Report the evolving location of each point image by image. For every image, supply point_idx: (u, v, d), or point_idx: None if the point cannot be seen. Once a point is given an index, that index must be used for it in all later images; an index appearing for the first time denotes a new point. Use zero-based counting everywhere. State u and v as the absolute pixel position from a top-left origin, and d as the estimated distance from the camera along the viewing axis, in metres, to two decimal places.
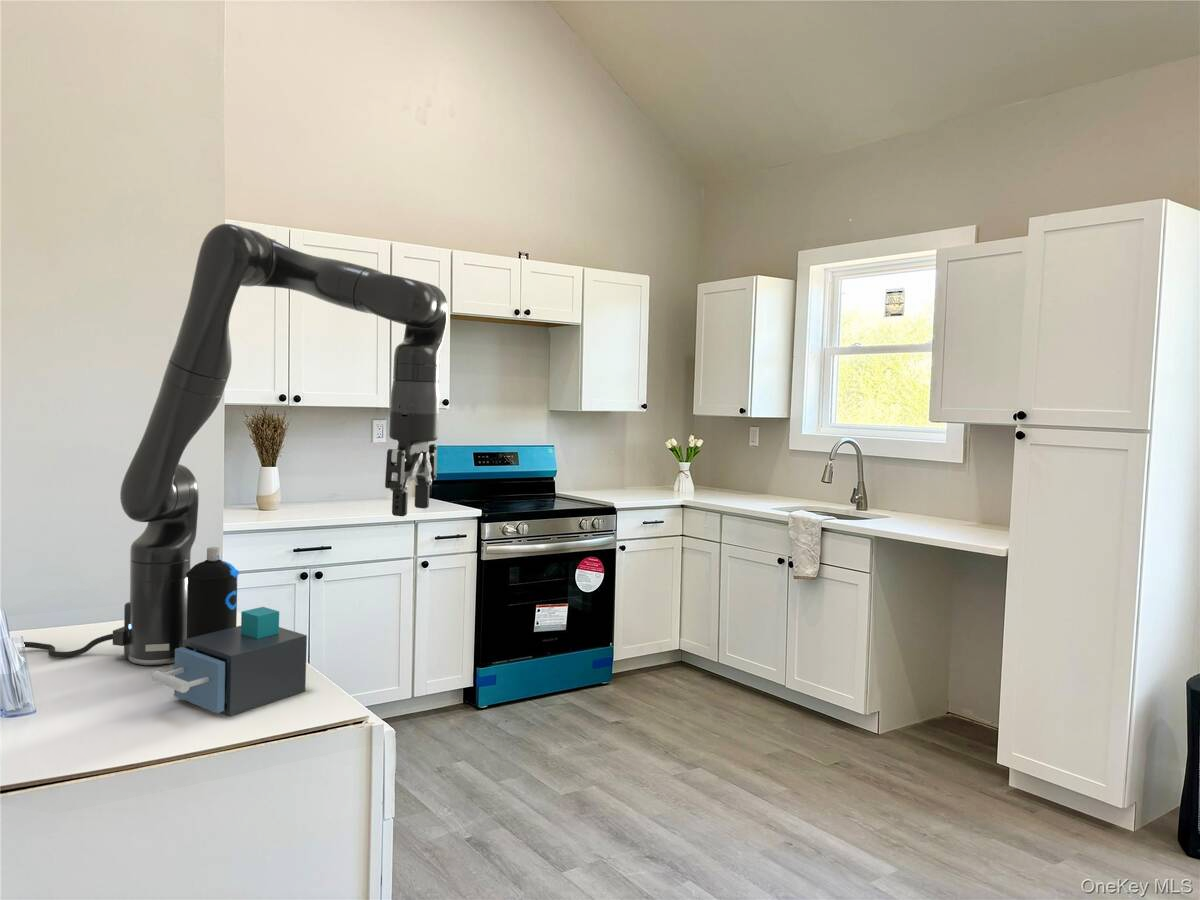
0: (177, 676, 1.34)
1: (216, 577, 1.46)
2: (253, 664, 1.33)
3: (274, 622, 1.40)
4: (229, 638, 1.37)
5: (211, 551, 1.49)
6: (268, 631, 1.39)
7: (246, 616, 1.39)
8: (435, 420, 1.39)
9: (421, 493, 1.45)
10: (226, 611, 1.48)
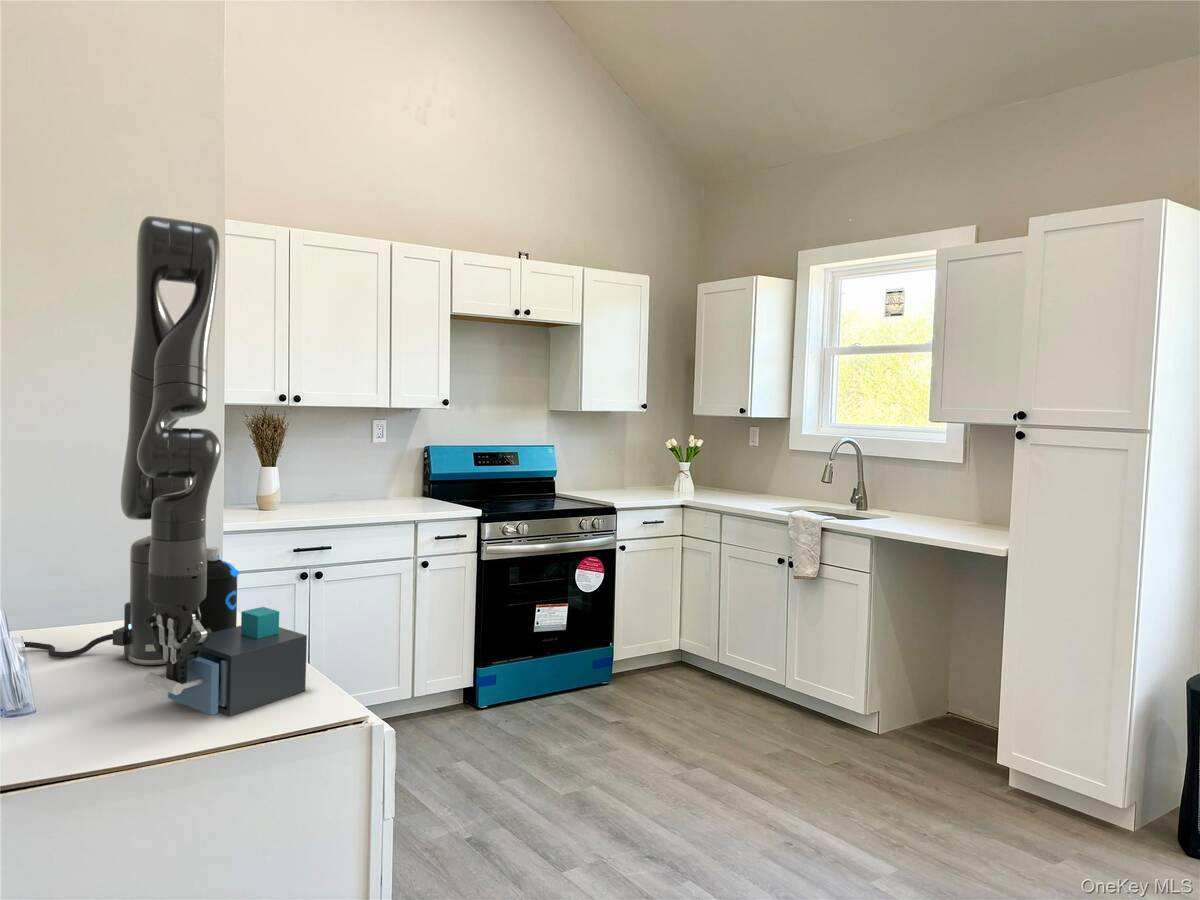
0: None
1: (216, 577, 1.46)
2: (253, 664, 1.33)
3: (274, 622, 1.40)
4: (229, 638, 1.37)
5: (211, 551, 1.49)
6: (268, 631, 1.39)
7: (246, 616, 1.39)
8: None
9: None
10: (226, 611, 1.48)
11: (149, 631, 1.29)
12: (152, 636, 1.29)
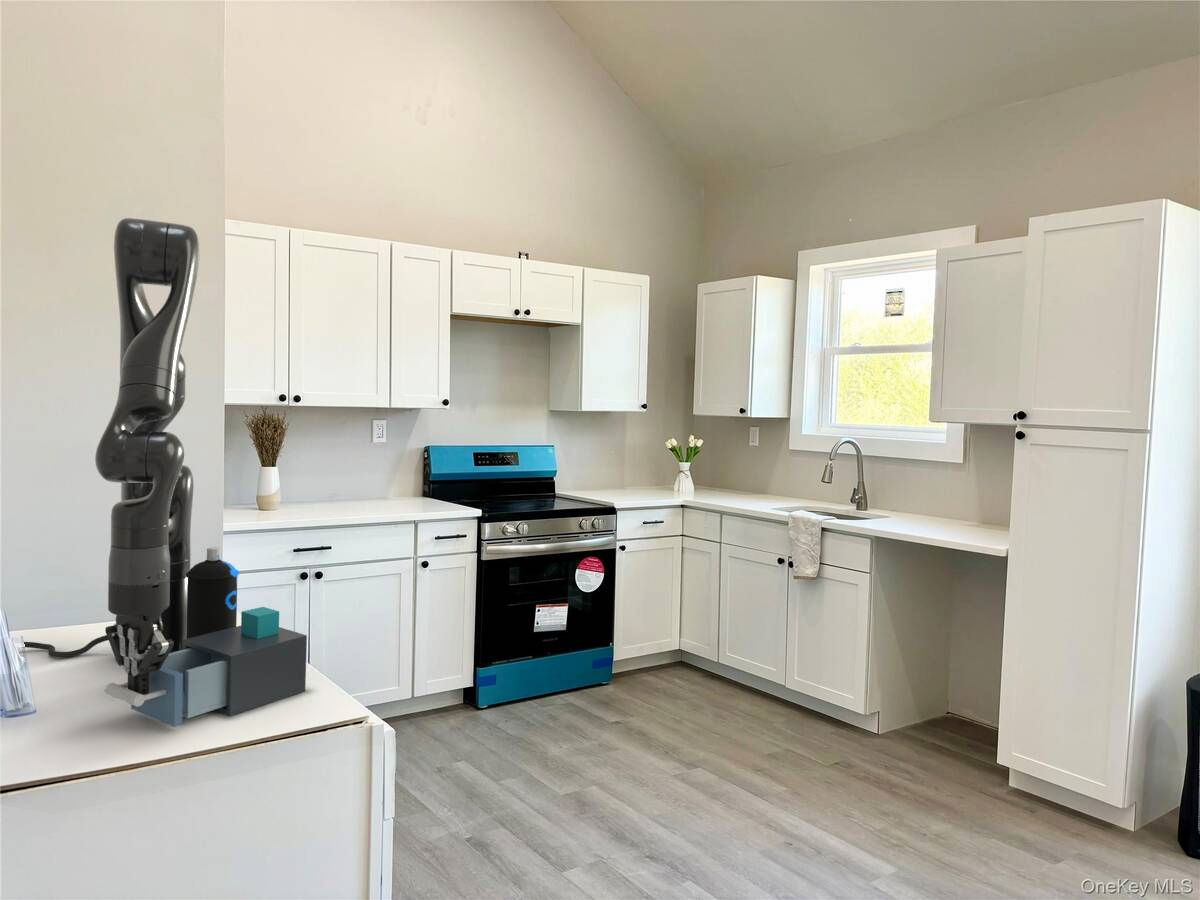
0: None
1: (216, 577, 1.46)
2: (253, 664, 1.33)
3: (274, 622, 1.40)
4: (229, 638, 1.37)
5: (211, 551, 1.49)
6: (268, 631, 1.39)
7: (246, 616, 1.39)
8: None
9: None
10: (226, 611, 1.48)
11: (111, 641, 1.25)
12: (113, 647, 1.24)
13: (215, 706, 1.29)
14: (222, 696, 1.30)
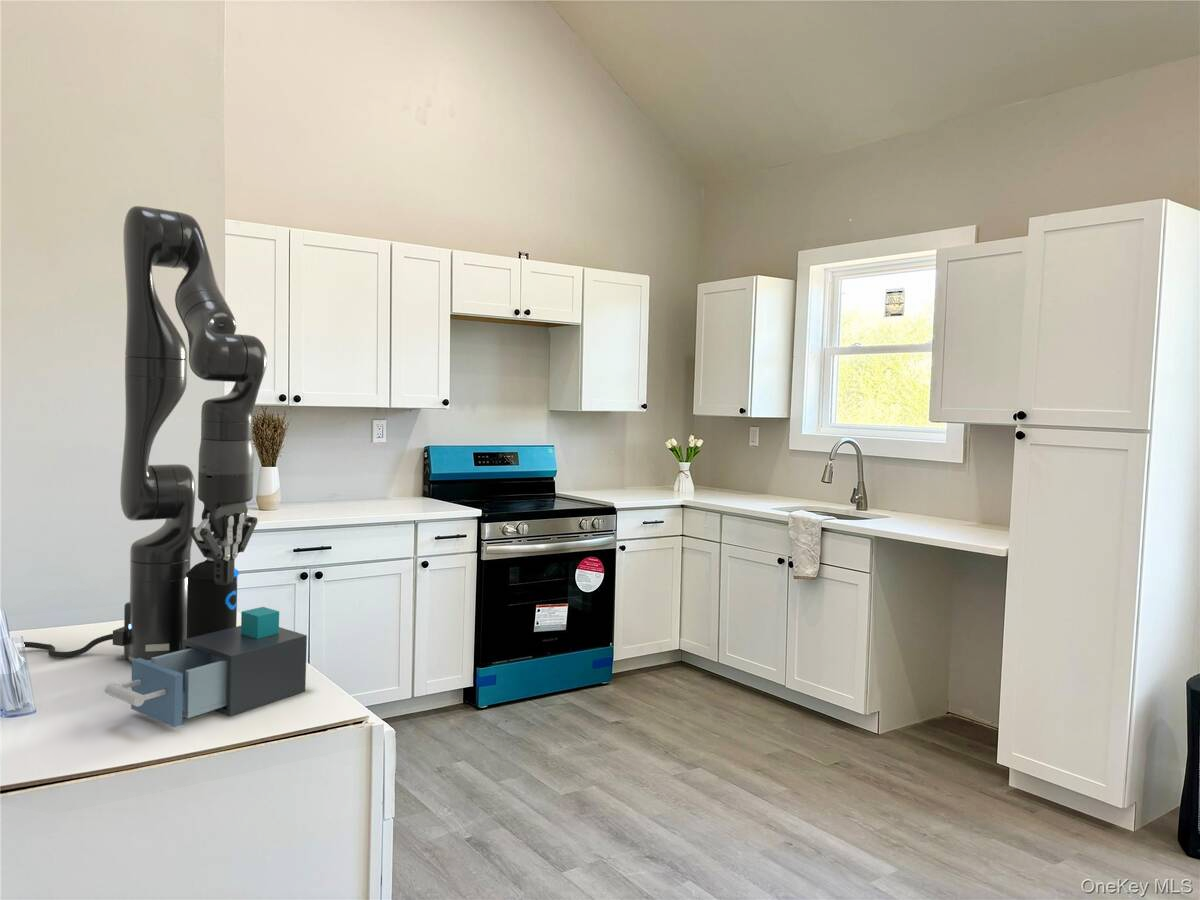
0: (134, 688, 1.28)
1: None
2: (253, 664, 1.33)
3: (274, 622, 1.40)
4: (229, 638, 1.37)
5: None
6: (268, 631, 1.39)
7: (246, 616, 1.39)
8: (246, 480, 1.31)
9: None
10: (226, 611, 1.48)
11: None
12: None
13: (215, 706, 1.29)
14: (222, 696, 1.30)
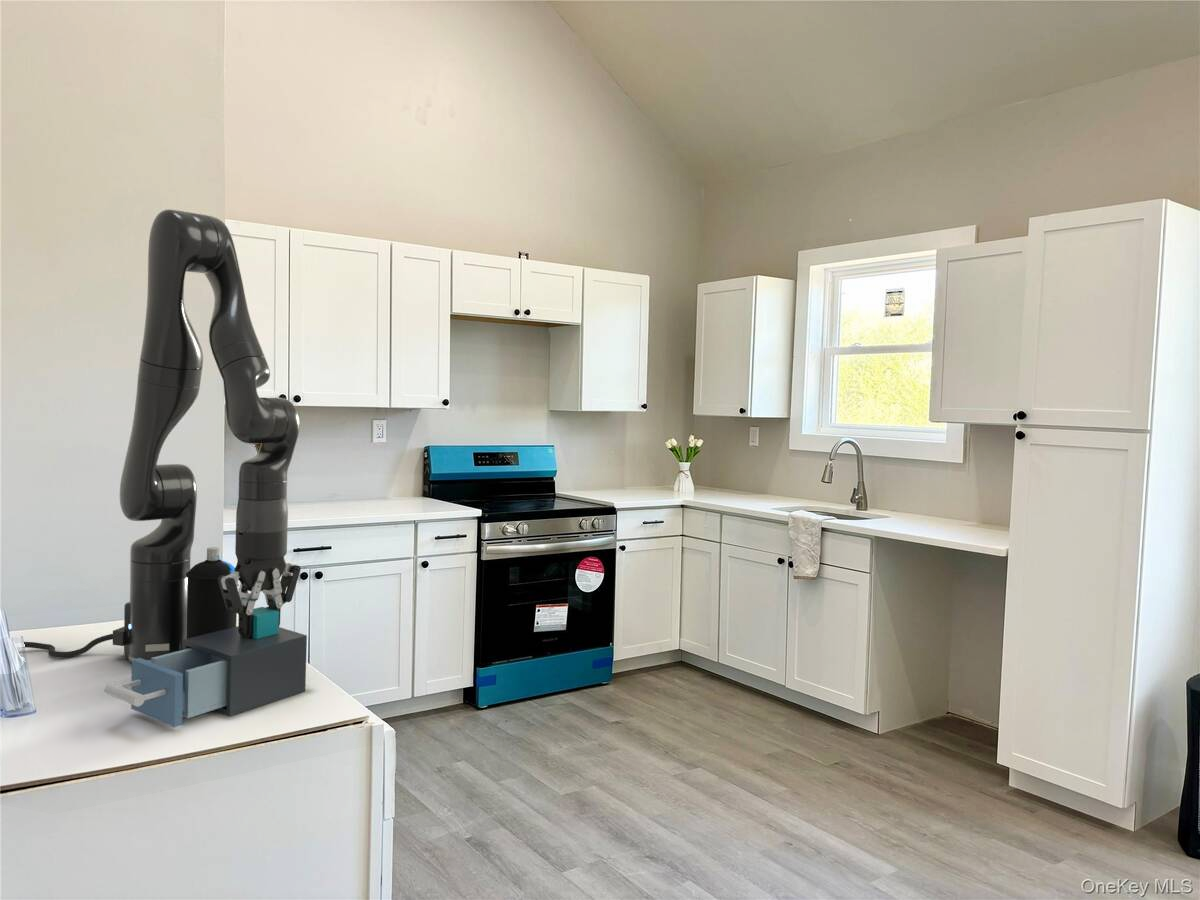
0: (134, 688, 1.28)
1: (216, 577, 1.46)
2: (253, 664, 1.33)
3: (273, 622, 1.40)
4: (229, 638, 1.37)
5: (211, 551, 1.49)
6: (267, 631, 1.39)
7: None
8: (275, 538, 1.36)
9: None
10: (226, 611, 1.48)
11: None
12: None
13: (215, 706, 1.29)
14: (222, 696, 1.30)
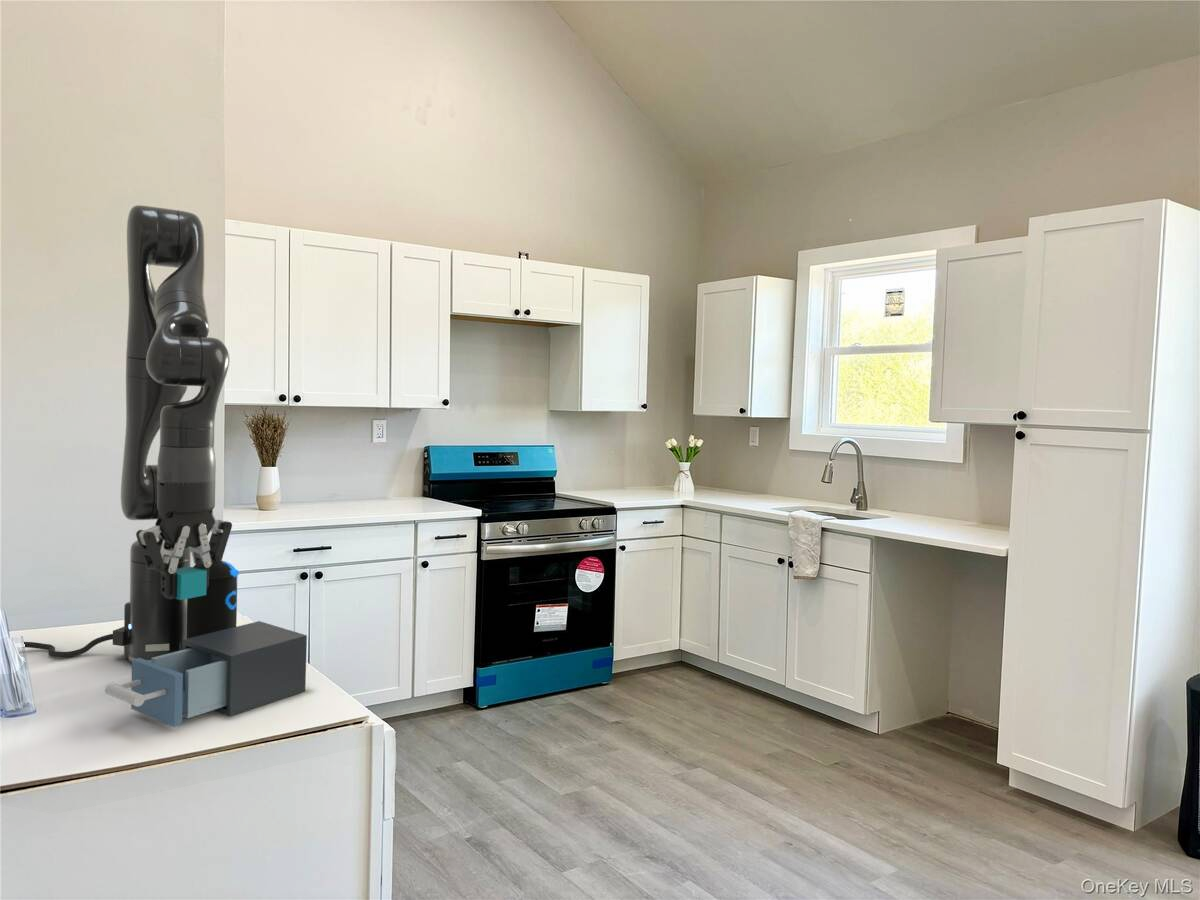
0: (134, 688, 1.28)
1: (216, 577, 1.46)
2: (253, 664, 1.33)
3: (200, 582, 1.28)
4: (229, 638, 1.37)
5: None
6: (193, 592, 1.27)
7: None
8: (200, 489, 1.25)
9: None
10: (226, 611, 1.48)
11: None
12: None
13: (215, 706, 1.29)
14: (222, 696, 1.30)
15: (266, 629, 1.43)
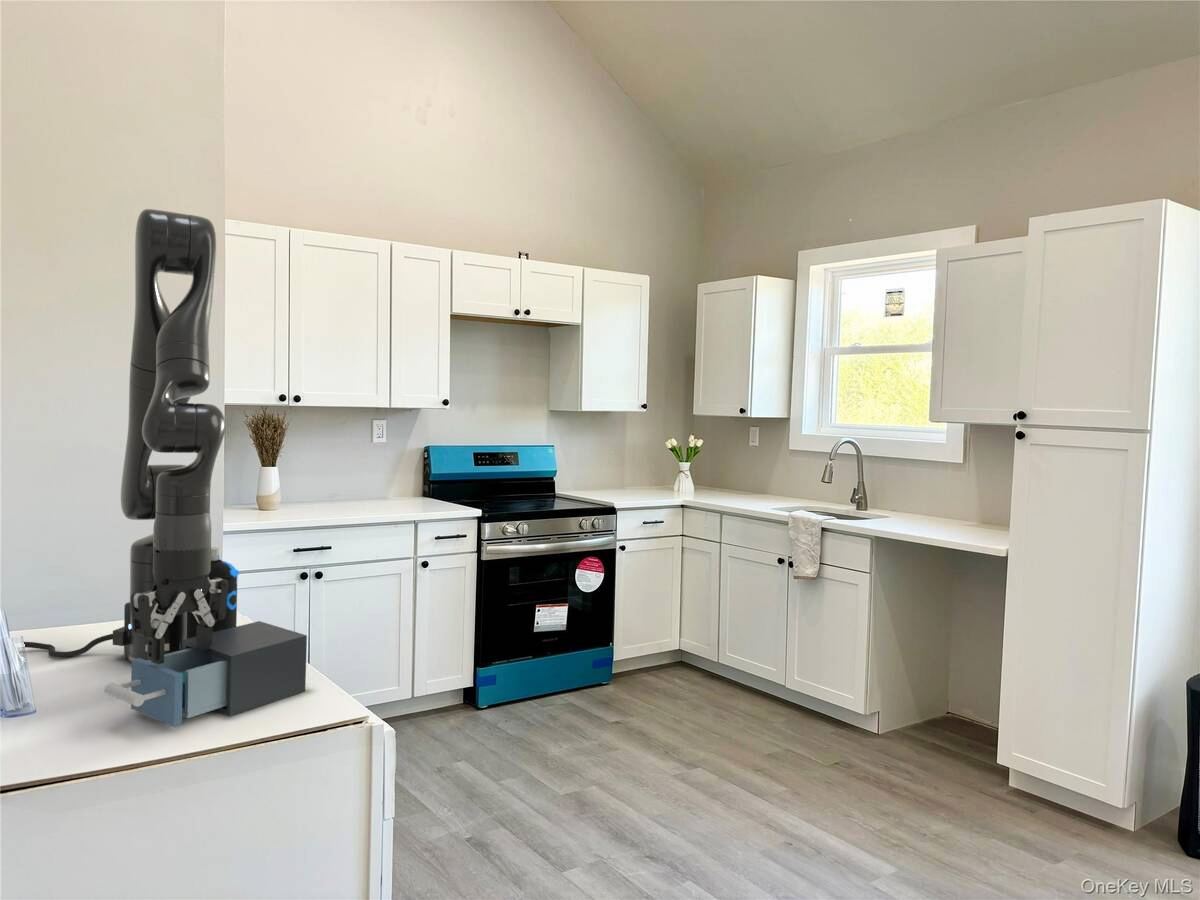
0: (134, 688, 1.28)
1: None
2: (253, 664, 1.33)
3: None
4: (229, 638, 1.37)
5: (211, 551, 1.49)
6: None
7: None
8: (195, 556, 1.25)
9: (201, 635, 1.31)
10: (226, 611, 1.48)
11: None
12: None
13: (215, 706, 1.29)
14: (222, 696, 1.30)
15: (266, 629, 1.43)
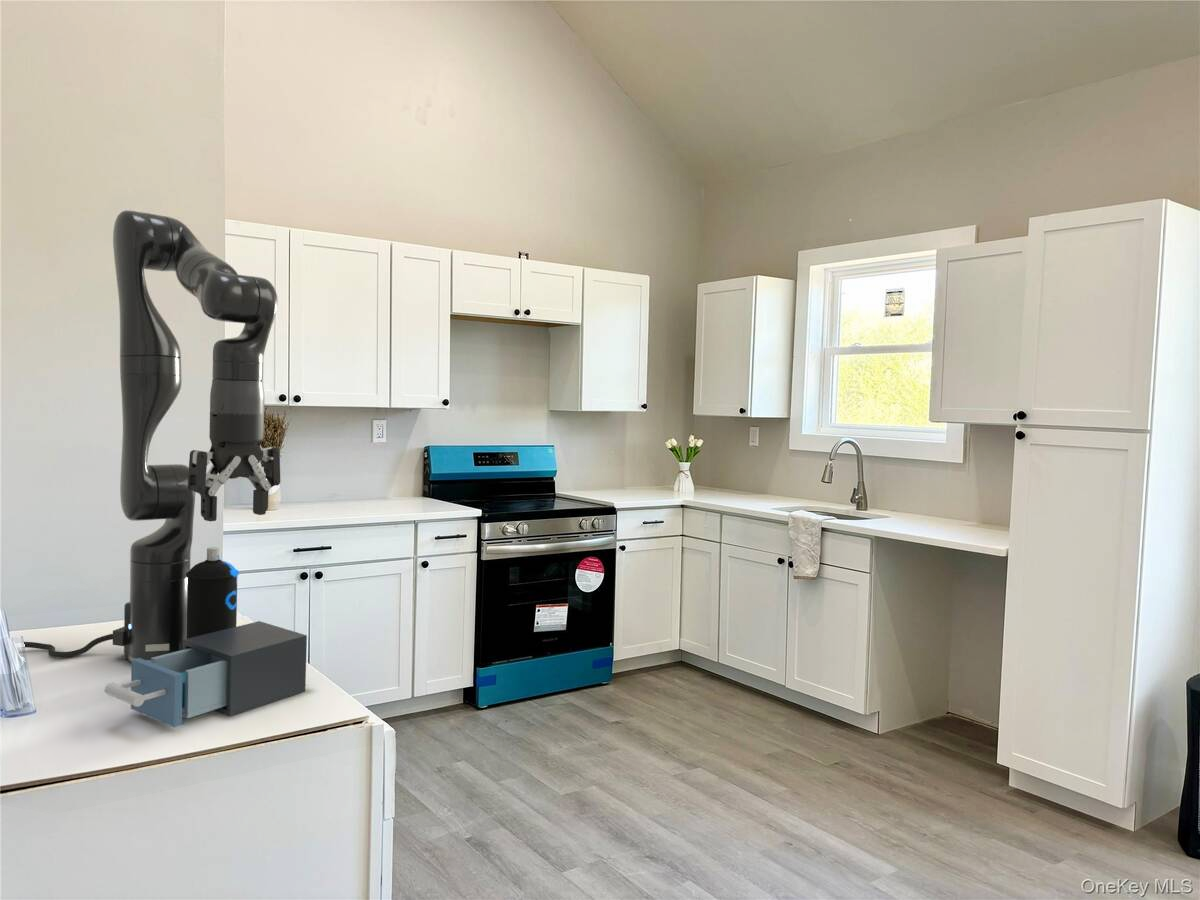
0: (134, 688, 1.28)
1: (216, 577, 1.46)
2: (253, 664, 1.33)
3: None
4: (229, 638, 1.37)
5: (211, 551, 1.49)
6: None
7: None
8: (250, 421, 1.31)
9: (257, 499, 1.38)
10: (226, 611, 1.48)
11: None
12: None
13: (215, 706, 1.29)
14: (222, 696, 1.30)
15: (266, 629, 1.43)
